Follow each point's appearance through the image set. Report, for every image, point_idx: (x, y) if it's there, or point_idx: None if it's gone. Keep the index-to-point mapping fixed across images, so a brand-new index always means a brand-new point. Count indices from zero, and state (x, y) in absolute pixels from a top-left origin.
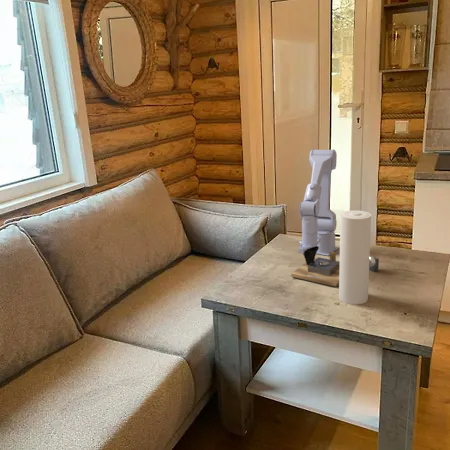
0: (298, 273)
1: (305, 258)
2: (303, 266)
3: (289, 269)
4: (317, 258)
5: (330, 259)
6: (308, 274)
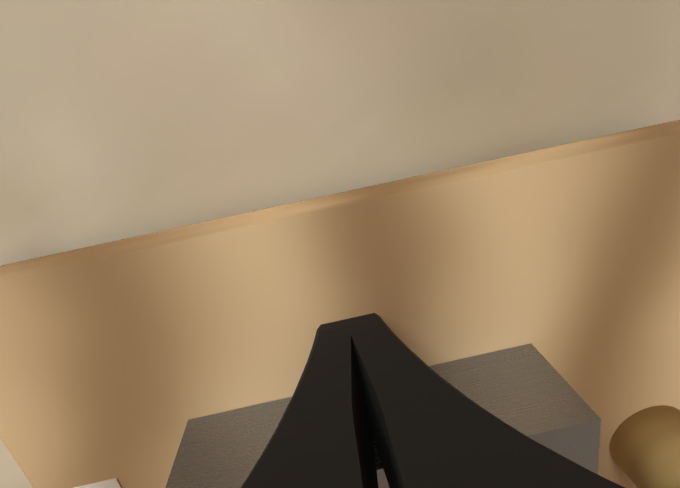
0: (21, 377)
1: (291, 415)
2: (294, 256)
3: (164, 18)
4: (541, 439)
5: (657, 485)
6: (123, 478)
